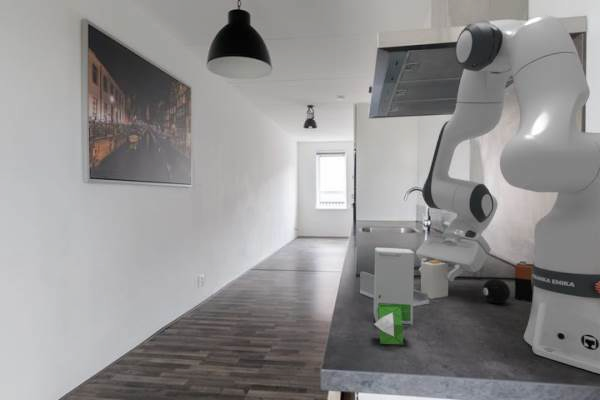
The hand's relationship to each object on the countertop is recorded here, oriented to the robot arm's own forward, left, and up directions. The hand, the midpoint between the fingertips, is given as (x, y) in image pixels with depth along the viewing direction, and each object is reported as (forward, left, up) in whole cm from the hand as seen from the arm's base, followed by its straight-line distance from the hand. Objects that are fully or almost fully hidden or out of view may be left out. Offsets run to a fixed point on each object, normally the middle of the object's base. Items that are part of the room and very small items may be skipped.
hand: (434, 275), depth 101 cm
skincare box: (-10, +23, -6) cm, 26 cm away
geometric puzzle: (-20, +32, -6) cm, 38 cm away
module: (0, 0, -5) cm, 5 cm away
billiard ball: (-12, -9, -6) cm, 16 cm away
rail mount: (+3, +12, -5) cm, 13 cm away
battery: (-14, -20, -6) cm, 25 cm away
